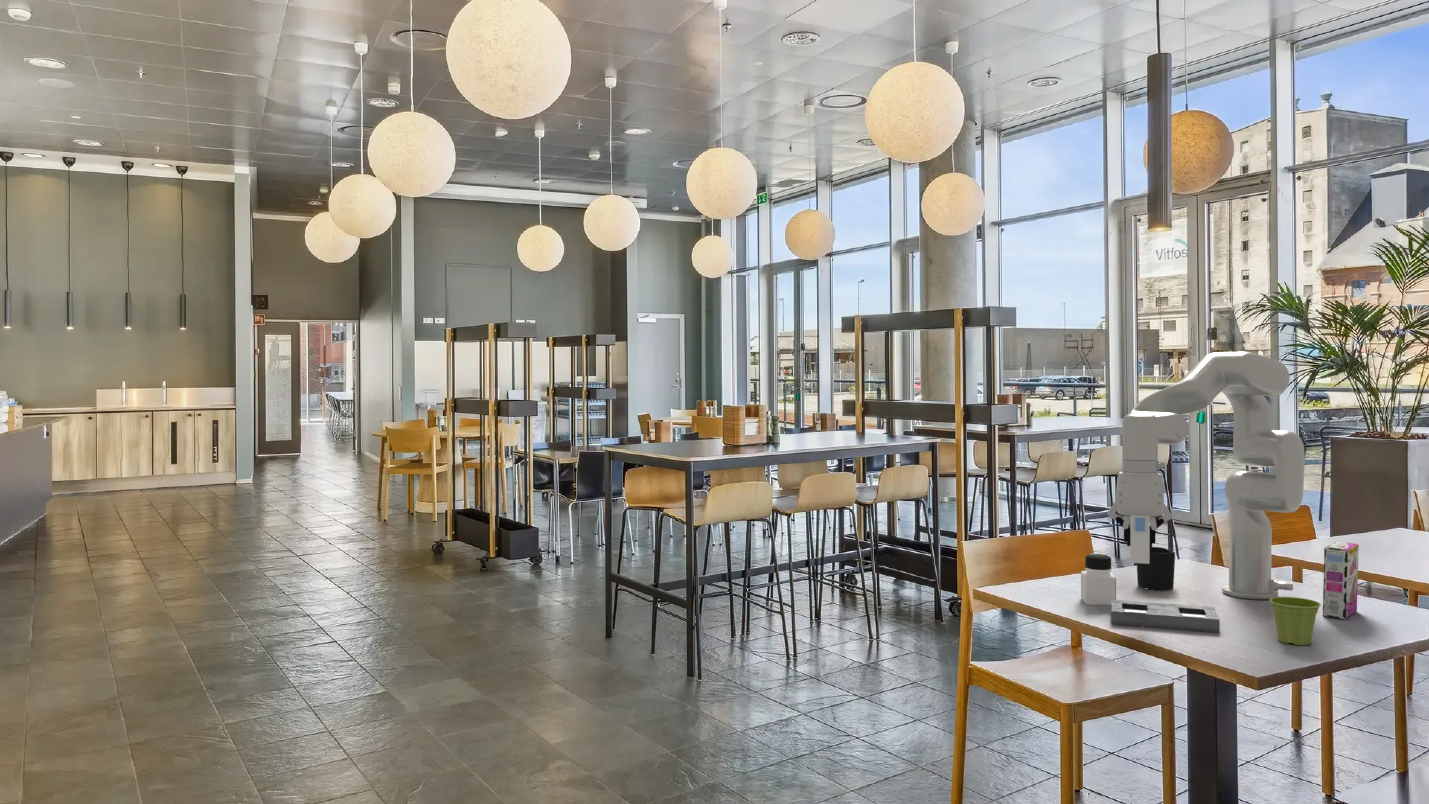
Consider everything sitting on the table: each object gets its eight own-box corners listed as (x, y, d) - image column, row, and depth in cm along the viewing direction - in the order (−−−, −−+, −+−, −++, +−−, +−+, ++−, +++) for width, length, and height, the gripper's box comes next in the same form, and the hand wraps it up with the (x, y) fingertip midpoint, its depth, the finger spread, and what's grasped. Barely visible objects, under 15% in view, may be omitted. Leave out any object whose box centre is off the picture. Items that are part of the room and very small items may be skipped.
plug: (1148, 560, 223) (1148, 513, 223) (1149, 564, 219) (1149, 516, 219) (1129, 559, 225) (1130, 512, 224) (1130, 563, 221) (1130, 515, 220)
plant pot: (1259, 636, 208) (1259, 597, 208) (1300, 635, 209) (1300, 595, 209) (1288, 649, 199) (1288, 607, 199) (1331, 647, 200) (1331, 606, 200)
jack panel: (1213, 619, 222) (1213, 606, 222) (1219, 633, 211) (1219, 618, 211) (1111, 611, 231) (1111, 598, 231) (1111, 624, 220) (1111, 610, 219)
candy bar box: (1347, 620, 220) (1347, 549, 219) (1322, 617, 223) (1322, 547, 223) (1358, 611, 228) (1359, 543, 227) (1334, 608, 231) (1335, 540, 231)
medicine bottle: (1116, 606, 236) (1116, 557, 236) (1085, 605, 237) (1085, 557, 237) (1110, 599, 243) (1110, 552, 243) (1080, 598, 244) (1080, 551, 244)
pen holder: (1179, 586, 256) (1179, 549, 255) (1168, 593, 249) (1168, 554, 248) (1142, 581, 262) (1142, 545, 261) (1131, 588, 255) (1131, 550, 254)
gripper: (1178, 466, 222) (1178, 545, 223) (1100, 464, 228) (1100, 541, 229) (1181, 470, 215) (1180, 551, 216) (1101, 467, 221) (1100, 546, 222)
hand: (1139, 545), depth 222 cm, fingers closed on plug, 4 cm apart
